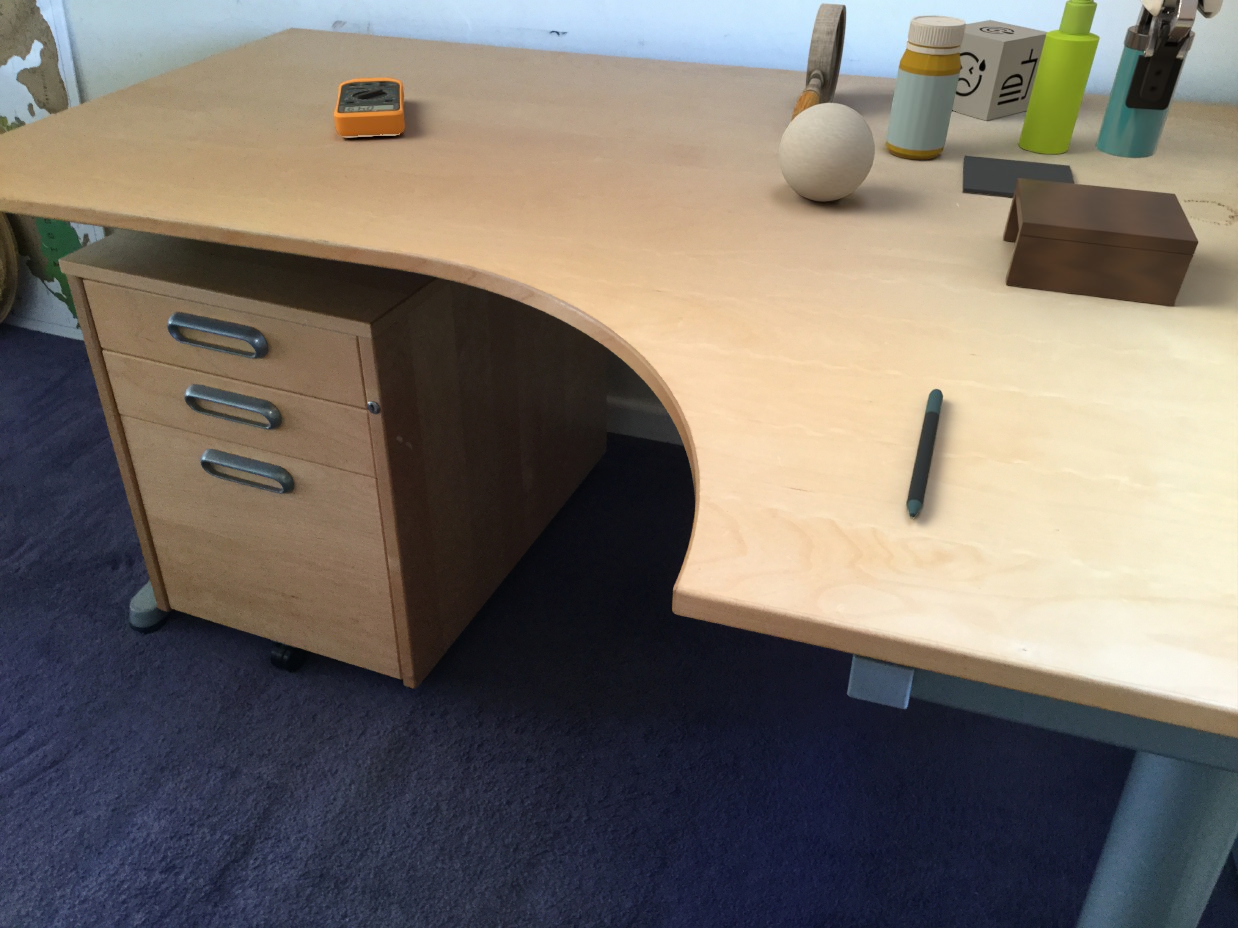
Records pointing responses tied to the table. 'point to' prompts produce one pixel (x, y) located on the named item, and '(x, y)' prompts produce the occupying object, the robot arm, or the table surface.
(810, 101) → the magnifying glass
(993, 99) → the icon cube
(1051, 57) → the soap dispenser
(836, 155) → the ball
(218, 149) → the table surface
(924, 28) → the bottle
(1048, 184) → the wooden box
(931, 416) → the pen
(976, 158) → the mat
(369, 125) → the multimeter
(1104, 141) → the spice jar
